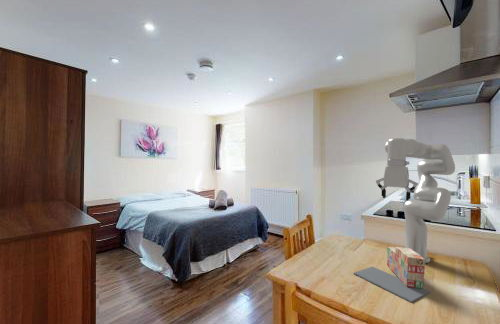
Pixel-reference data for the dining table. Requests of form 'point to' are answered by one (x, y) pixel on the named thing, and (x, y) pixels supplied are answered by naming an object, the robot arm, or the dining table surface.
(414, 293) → the mat
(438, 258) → the dining table surface
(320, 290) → the dining table surface
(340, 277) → the dining table surface
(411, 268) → the stack of blocks
